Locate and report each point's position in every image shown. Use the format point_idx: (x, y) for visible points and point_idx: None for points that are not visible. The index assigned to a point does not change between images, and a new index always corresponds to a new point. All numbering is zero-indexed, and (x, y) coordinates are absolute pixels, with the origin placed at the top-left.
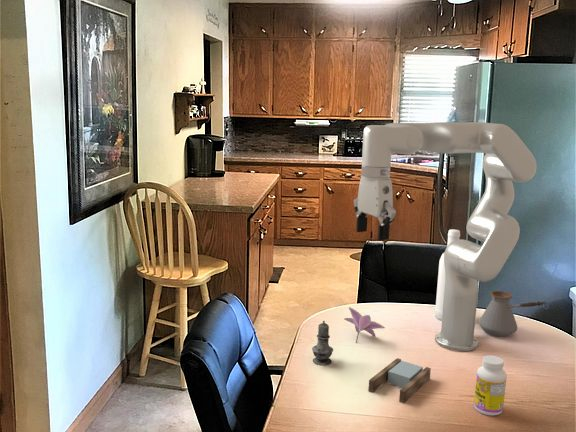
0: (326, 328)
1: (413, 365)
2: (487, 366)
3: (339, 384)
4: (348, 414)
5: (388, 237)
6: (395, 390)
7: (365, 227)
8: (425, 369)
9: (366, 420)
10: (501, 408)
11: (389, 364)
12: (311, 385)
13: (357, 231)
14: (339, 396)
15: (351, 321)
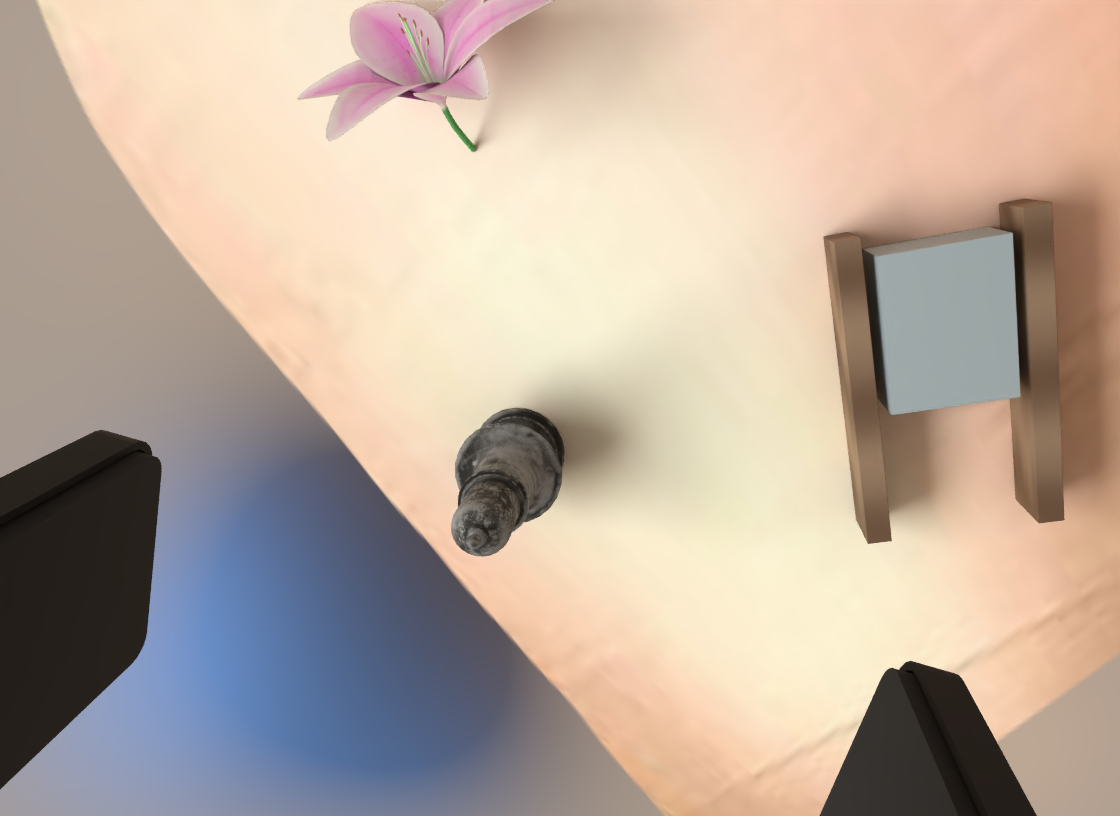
0: (509, 534)
1: (960, 257)
2: None
3: (725, 559)
4: None
5: (961, 694)
6: (947, 429)
7: (101, 524)
8: (1035, 241)
9: (985, 695)
10: None
11: (847, 340)
12: (650, 641)
13: (123, 654)
14: (792, 632)
15: (348, 81)
